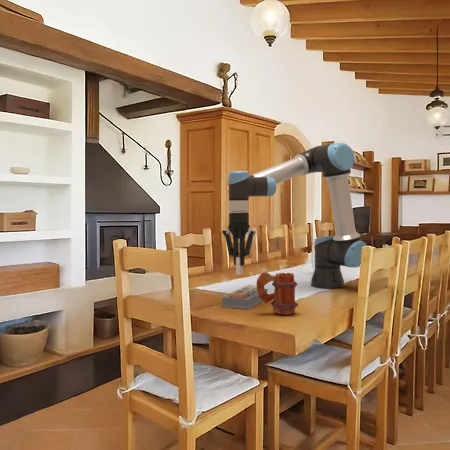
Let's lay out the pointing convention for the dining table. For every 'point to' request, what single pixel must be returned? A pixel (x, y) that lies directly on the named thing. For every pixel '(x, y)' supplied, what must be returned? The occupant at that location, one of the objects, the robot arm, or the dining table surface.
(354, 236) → the robot arm
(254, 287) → the key
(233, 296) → the key
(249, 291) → the key
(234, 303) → the key board
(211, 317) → the dining table surface
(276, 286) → the mug
